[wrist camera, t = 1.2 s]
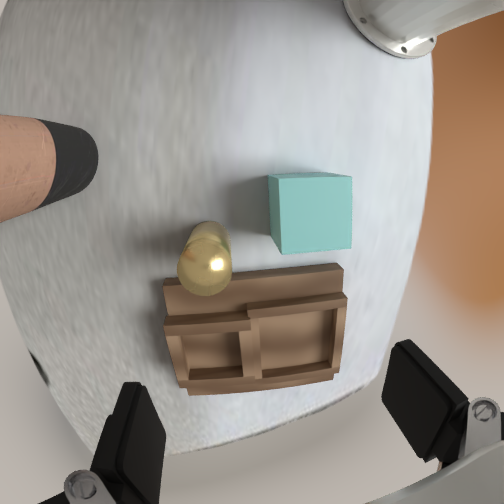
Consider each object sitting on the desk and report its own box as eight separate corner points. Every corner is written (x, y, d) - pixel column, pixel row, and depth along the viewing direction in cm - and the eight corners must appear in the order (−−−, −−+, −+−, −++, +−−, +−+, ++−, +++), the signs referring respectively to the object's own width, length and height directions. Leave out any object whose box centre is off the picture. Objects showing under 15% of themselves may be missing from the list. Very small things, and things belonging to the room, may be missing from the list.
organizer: (164, 278, 29) (156, 295, 25) (336, 262, 30) (351, 276, 27) (188, 384, 34) (185, 407, 30) (328, 369, 35) (337, 389, 31)
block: (267, 174, 27) (278, 178, 21) (327, 172, 27) (351, 176, 22) (270, 235, 29) (281, 254, 23) (328, 231, 29) (351, 248, 24)
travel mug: (104, 192, 26) (-51, 255, 7) (46, 201, 25) (-97, 263, 6) (99, 118, 24) (-57, 86, 5) (41, 134, 23) (-107, 138, 4)
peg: (187, 223, 28) (173, 246, 20) (228, 219, 28) (229, 241, 20) (192, 262, 29) (181, 297, 21) (232, 258, 29) (234, 293, 22)
